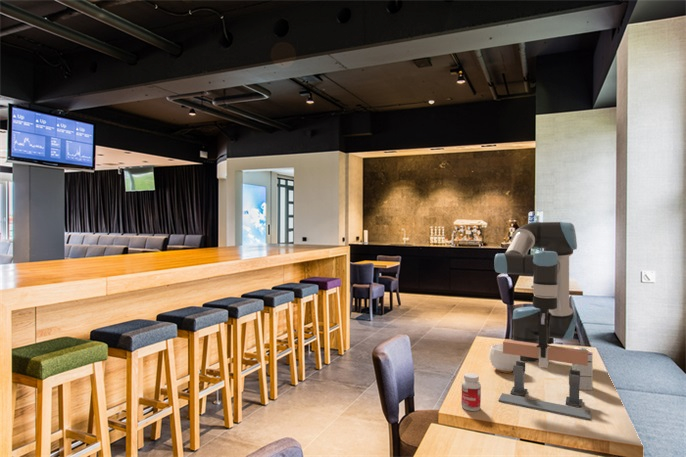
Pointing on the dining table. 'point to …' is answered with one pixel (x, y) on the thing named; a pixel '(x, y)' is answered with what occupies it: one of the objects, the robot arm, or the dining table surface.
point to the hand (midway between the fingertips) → (543, 364)
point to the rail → (553, 352)
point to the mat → (546, 406)
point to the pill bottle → (471, 392)
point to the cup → (502, 359)
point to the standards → (573, 384)
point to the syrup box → (585, 372)
